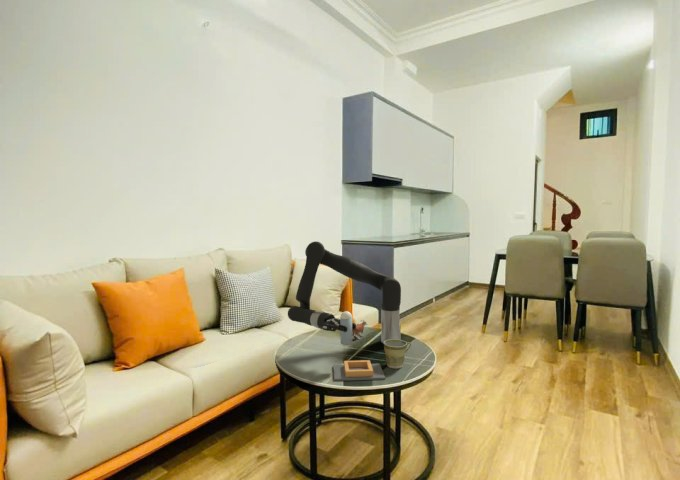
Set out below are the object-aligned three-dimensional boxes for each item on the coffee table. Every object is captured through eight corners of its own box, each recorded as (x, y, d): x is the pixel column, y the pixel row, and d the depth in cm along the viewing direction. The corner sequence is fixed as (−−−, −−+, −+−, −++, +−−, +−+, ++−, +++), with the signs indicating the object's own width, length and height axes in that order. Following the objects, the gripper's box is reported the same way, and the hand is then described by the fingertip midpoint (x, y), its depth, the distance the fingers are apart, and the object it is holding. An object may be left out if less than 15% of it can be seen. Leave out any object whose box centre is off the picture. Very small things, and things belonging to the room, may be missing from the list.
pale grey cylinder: (351, 340, 160) (351, 309, 159) (352, 344, 155) (352, 312, 154) (340, 341, 160) (340, 310, 159) (340, 345, 155) (340, 313, 154)
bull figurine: (368, 334, 203) (368, 319, 203) (356, 341, 192) (356, 325, 192) (361, 333, 206) (361, 318, 205) (349, 339, 194) (349, 324, 194)
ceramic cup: (391, 371, 153) (391, 348, 153) (379, 363, 163) (379, 340, 162) (417, 366, 159) (417, 343, 158) (404, 358, 168) (404, 336, 167)
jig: (379, 365, 160) (379, 358, 160) (385, 379, 146) (385, 372, 146) (333, 366, 159) (333, 359, 159) (334, 380, 145) (334, 373, 145)
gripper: (310, 315, 161) (339, 322, 149) (333, 309, 172) (362, 315, 160) (310, 332, 162) (339, 341, 150) (333, 325, 172) (362, 332, 160)
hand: (351, 327), depth 155 cm, fingers closed on pale grey cylinder, 5 cm apart
